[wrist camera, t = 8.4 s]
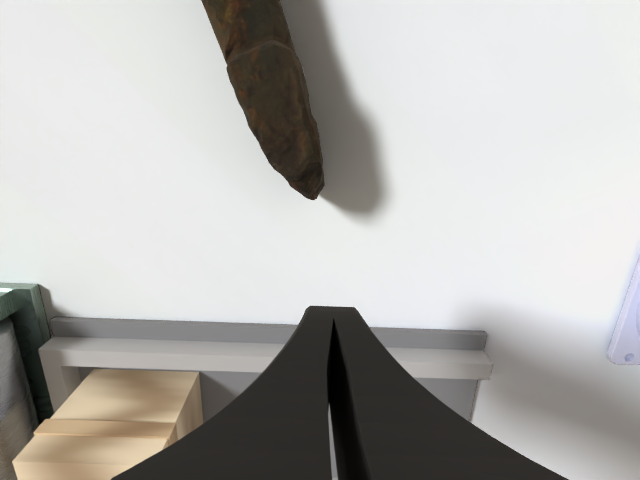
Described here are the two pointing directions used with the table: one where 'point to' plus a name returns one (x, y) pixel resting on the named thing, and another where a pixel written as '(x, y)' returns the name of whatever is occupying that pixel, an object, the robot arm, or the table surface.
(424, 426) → the robot arm
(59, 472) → the block
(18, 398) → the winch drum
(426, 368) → the crate bay
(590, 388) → the table surface
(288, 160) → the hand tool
